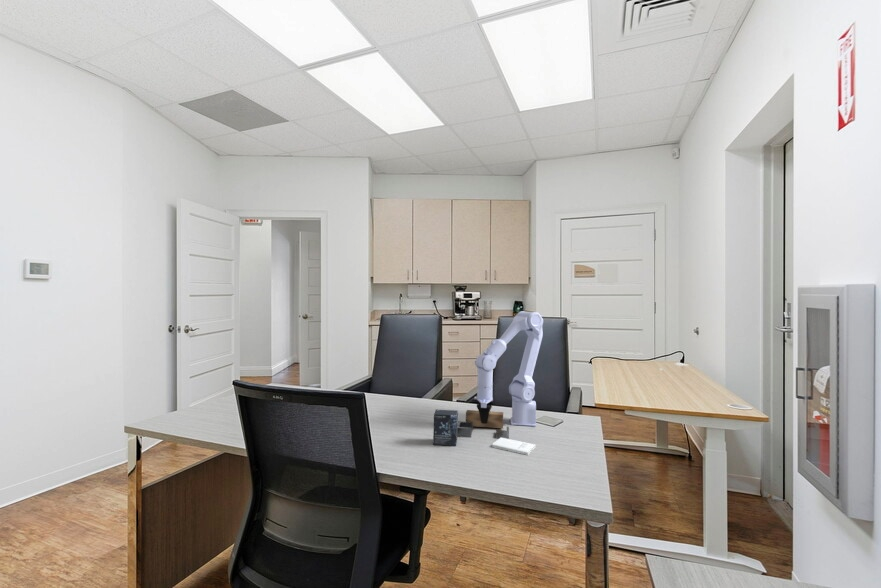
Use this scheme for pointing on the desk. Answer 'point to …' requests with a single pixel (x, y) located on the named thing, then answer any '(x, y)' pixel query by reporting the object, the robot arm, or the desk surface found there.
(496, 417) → the wooden block
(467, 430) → the bracket
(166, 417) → the desk surface
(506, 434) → the ledge bracket
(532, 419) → the robot arm
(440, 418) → the box
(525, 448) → the external hard drive
